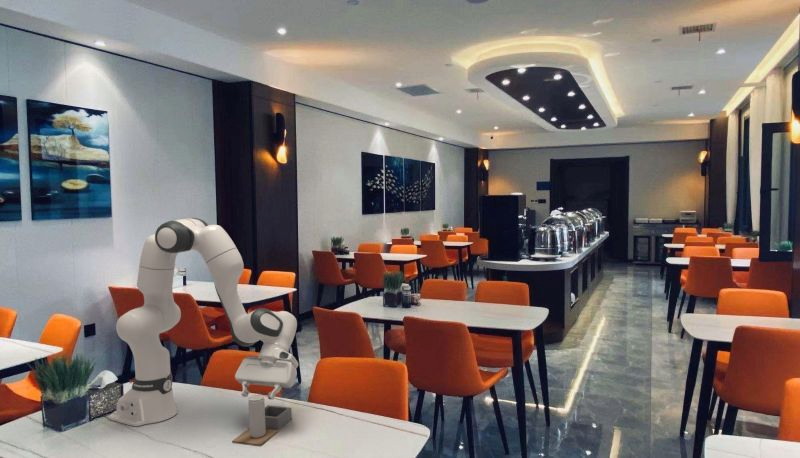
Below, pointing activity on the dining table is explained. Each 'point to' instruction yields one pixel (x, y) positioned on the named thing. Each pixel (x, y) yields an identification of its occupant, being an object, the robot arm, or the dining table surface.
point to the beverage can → (257, 416)
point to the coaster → (249, 440)
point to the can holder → (277, 417)
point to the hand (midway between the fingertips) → (257, 397)
